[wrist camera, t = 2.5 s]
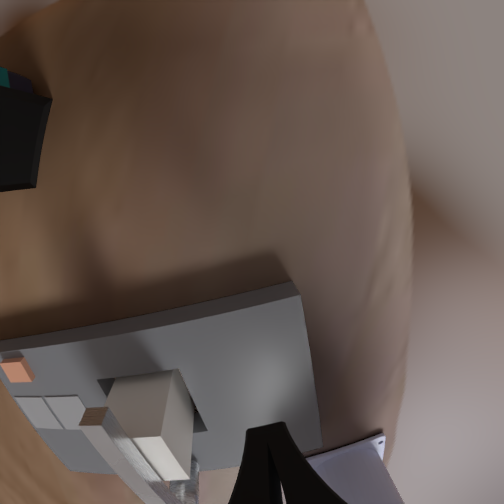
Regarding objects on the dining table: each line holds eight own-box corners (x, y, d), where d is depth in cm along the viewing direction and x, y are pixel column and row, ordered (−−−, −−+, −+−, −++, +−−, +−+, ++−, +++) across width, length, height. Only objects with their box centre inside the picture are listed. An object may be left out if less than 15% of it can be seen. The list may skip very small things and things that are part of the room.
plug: (194, 405, 19) (190, 479, 13) (143, 411, 19) (126, 480, 13) (175, 360, 18) (160, 436, 12) (119, 368, 18) (90, 438, 12)
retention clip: (202, 470, 18) (202, 532, 13) (177, 472, 18) (173, 533, 13) (137, 350, 15) (109, 425, 10) (106, 355, 15) (71, 425, 10)
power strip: (316, 429, 21) (325, 452, 18) (75, 455, 20) (68, 475, 18) (292, 280, 17) (303, 299, 15) (-1, 340, 17) (-18, 357, 14)
